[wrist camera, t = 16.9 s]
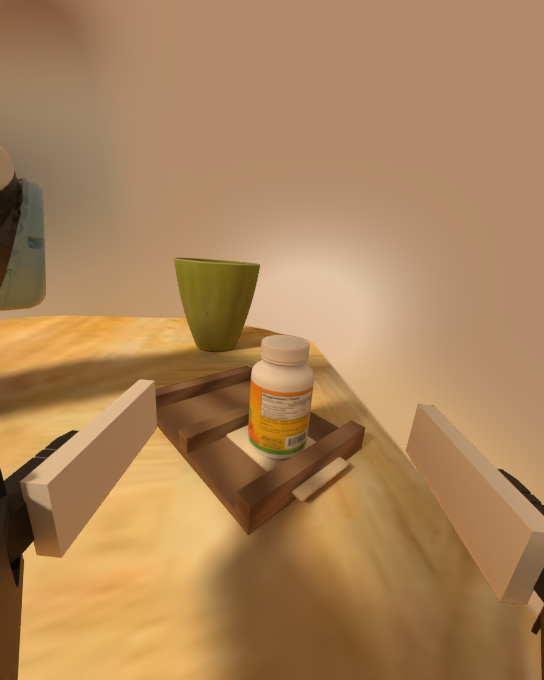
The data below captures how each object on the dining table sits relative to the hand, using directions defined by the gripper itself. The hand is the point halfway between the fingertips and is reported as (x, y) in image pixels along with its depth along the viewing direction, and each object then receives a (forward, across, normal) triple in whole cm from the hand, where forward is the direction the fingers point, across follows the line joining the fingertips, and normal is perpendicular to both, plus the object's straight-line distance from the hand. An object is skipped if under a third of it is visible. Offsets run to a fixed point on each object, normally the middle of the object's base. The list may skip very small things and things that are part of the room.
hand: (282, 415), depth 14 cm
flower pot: (+39, -12, -10) cm, 42 cm away
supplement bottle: (+10, 0, -9) cm, 13 cm away
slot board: (+13, -3, -10) cm, 16 cm away
